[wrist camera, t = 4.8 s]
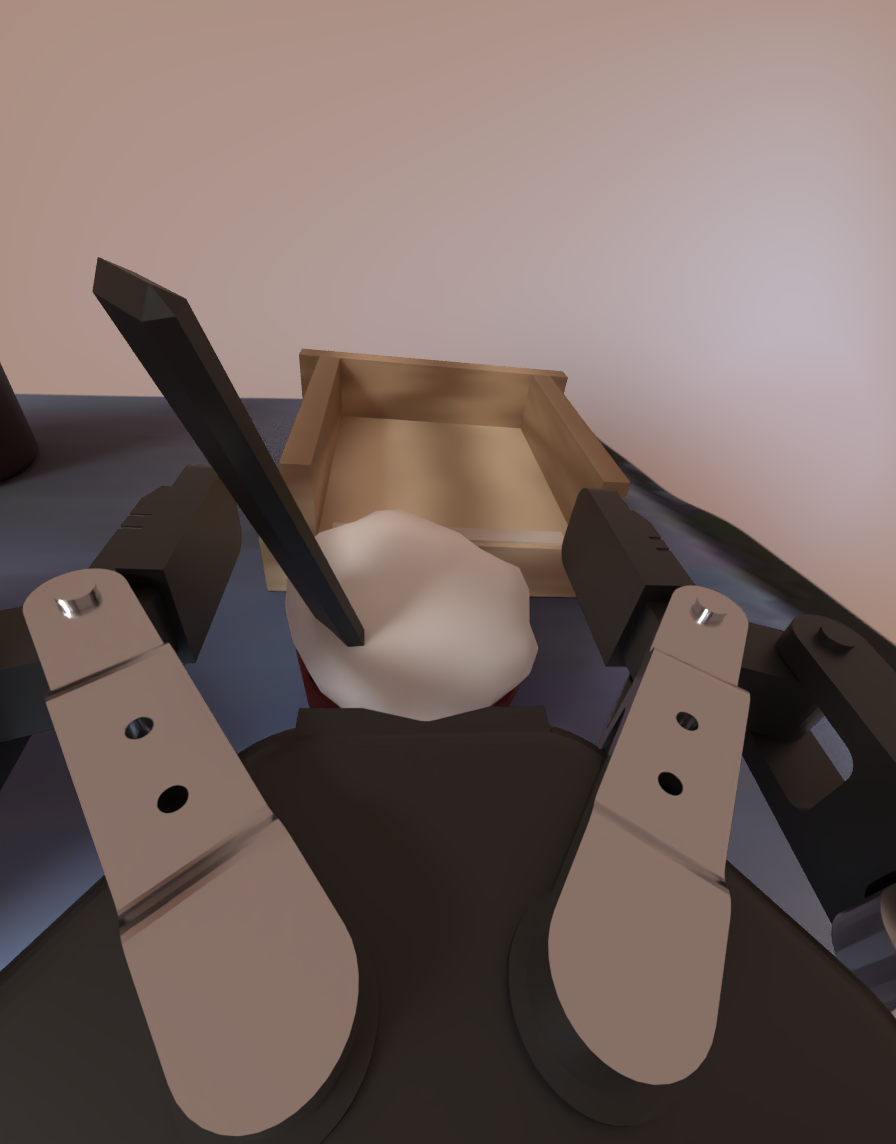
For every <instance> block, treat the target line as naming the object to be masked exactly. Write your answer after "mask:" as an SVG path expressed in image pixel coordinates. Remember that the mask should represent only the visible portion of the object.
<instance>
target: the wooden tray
mask: <svg viewBox="0 0 896 1144" xmlns="http://www.w3.org/2000/svg"><path fill="white" fill-rule="evenodd" d="M299 359H300V370H301V384H302V396H303V401H302V404H301V406H300V409H299V411H298V414H297V417H296V419H295V422H294V424H293V427H292V430H291V432H290V435H289V437H288V440H287V443H286V445H285V448H284V450H283V453H282V456H281V458H280V461H279V471H280V474H281V476H282V478H283V479H284V481H285V483H286V485H287V487H288V489H289V491H290V492H291V494H292V496H293V498H294V500H295V502H296V504H297V505H298V507H299V509H300V511H301V513H302V515H303V517H304V518H305V520H306V522H307V524H308V526H309V528H310V530H311V531H312V533H313V535H314V537H315V536H316V535H317V534H318V533H320V532H323V531H326V530H330V529H333V528H336V527H339V526H342V525H345V524H349V523H352V522H355V521H358V520H359V519H361V518H363V517H365V516H367V515H369V514H371V513H373V512H375V511H384V510H398V509H401V510H404V511H406V512H409V513H411V514H414V515H416V516H418V517H421V518H423V519H426V520H428V521H431V522H433V523H436V524H438V525H441V526H443V527H446V528H448V529H451V530H453V531H456V532H458V533H460V534H462V535H463V536H464V537H466V538H467V539H468V540H469V541H471V542H472V543H473V544H475V545H476V546H477V547H479V548H480V549H482V550H484V551H486V552H488V553H489V554H491V555H493V556H495V557H497V558H499V559H501V560H503V561H505V562H508V563H510V564H512V565H514V566H517V567H519V568H520V571H521V573H522V575H523V577H524V580H525V582H526V584H527V586H528V588H529V596H537V597H576V595H575V592H574V590H573V588H572V585H571V583H570V581H569V578H568V576H567V574H566V571H565V569H564V566H563V563H562V556H561V551H562V543H563V539H564V536H565V533H566V530H567V527H568V523H569V520H570V517H571V514H572V511H573V508H574V505H575V502H576V498H577V496H578V494H579V492H580V490H581V489H583V488H599V489H614V490H616V491H617V492H618V493H619V495H620V496H621V498H622V499H623V501H624V499H625V497H626V494H627V492H628V489H629V486H630V484H631V483H630V481H629V480H628V479H627V477H626V476H625V475H624V473H623V472H622V471H621V469H620V468H619V467H618V465H617V464H616V463H615V461H614V460H613V459H612V458H611V456H610V455H609V454H608V452H607V451H606V450H605V448H604V447H603V446H602V444H601V443H600V442H599V440H598V439H597V438H596V436H595V435H594V434H593V432H592V431H591V430H590V428H589V427H588V426H587V424H586V423H585V422H584V420H583V419H582V418H581V417H580V415H579V414H578V413H577V411H576V410H575V409H574V407H573V406H572V405H571V403H570V402H569V401H568V399H567V398H566V397H565V395H564V390H565V386H566V383H567V379H568V378H567V376H566V375H565V374H564V373H563V372H561V371H550V370H539V369H527V368H516V367H505V366H492V365H482V364H470V363H459V362H447V361H436V360H425V359H413V358H402V357H391V356H379V355H368V354H356V353H345V352H334V351H322V350H311V349H302V350H301V352H300V354H299ZM259 542H260V548H261V554H262V560H263V566H264V572H265V578H266V584H267V590H268V591H286V587H287V578H288V577H287V576H286V574H285V573H284V571H283V570H282V568H281V567H280V565H279V564H278V563H277V561H276V560H275V558H274V557H273V555H272V554H271V552H270V551H269V549H268V548H267V546H266V545H265V544H264V542H263V541H262V539H261V538H260V537H259Z"/></svg>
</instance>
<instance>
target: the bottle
mask: <svg viewBox="0 0 896 1144" xmlns="http://www.w3.org/2000/svg"><path fill="white" fill-rule="evenodd" d="M37 452H38V446H37V443H36V441H35V438H34V436H33V434H32V431H31V429H30V427H29V425H28V423H27V420H26V418H25V416H24V414H23V412H22V409H21V407H20V405H19V403H18V401H17V398H16V396H15V394H14V392H13V390H12V387H11V385H10V383H9V381H8V379H7V376H6V374H5V372H4V370H3V368H2V366H1V363H0V481H2V480H4V479H6V478H8V477H11V476H13V475H15V474H17V473H19V472H20V471H21V470H23V469H24V468H25V467H27V466H28V465H29V464H30V463H31V462H32V461H33V460H34V458H35V456H36V454H37Z"/></svg>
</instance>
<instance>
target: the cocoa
mask: <svg viewBox="0 0 896 1144" xmlns="http://www.w3.org/2000/svg"><path fill="white" fill-rule="evenodd" d="M93 293H94V294H95V296H96V297H97V299H98V300H99V302H100V303H101V305H102V306H103V308H104V309H105V311H106V312H107V314H108V315H109V316H110V318H111V319H112V321H113V322H114V324H115V325H116V327H117V328H118V330H119V331H120V333H121V334H122V335H123V337H124V338H125V340H126V341H127V343H128V344H129V346H130V347H131V349H132V350H133V352H134V353H135V354H136V356H137V357H138V359H139V360H140V362H141V363H142V365H143V366H144V368H145V369H146V371H147V372H148V374H149V375H150V377H151V378H152V379H153V381H154V382H155V384H156V385H157V387H158V388H159V390H160V391H161V393H162V394H163V395H164V397H165V398H166V400H167V401H168V403H169V404H170V406H171V407H172V409H173V410H174V412H175V413H176V415H177V416H178V418H179V419H180V420H181V422H182V423H183V425H184V426H185V428H186V429H187V431H188V432H189V434H190V435H191V437H192V438H193V440H194V441H195V442H196V444H197V445H198V447H199V448H200V450H201V451H202V453H203V454H204V456H205V457H206V459H207V460H208V461H209V463H210V464H211V466H212V467H213V469H214V470H215V472H216V473H217V475H218V476H219V478H220V479H221V481H222V482H223V483H224V485H225V486H226V488H227V489H228V491H229V492H230V494H231V495H232V497H233V498H234V500H235V501H236V502H237V504H238V505H239V507H240V508H241V510H242V511H243V513H244V514H245V516H246V517H247V519H248V520H249V522H250V523H251V524H252V526H253V527H254V529H255V530H256V532H257V533H258V535H259V536H260V538H261V539H262V541H263V542H264V544H265V545H266V546H267V548H268V549H269V551H270V552H271V554H272V555H273V557H274V558H275V560H276V561H277V563H278V564H279V565H280V567H281V568H282V570H283V571H284V573H285V574H286V576H287V577H288V578H287V587H286V598H285V610H286V614H287V619H288V624H289V628H290V633H291V637H292V641H293V643H294V645H295V647H296V651H297V656H298V661H299V665H300V670H301V674H302V678H303V682H304V686H305V691H306V695H307V699H308V703H309V706H310V708H365V709H370V710H374V711H379V712H383V713H388V714H392V715H397V716H401V717H406V718H410V719H415V720H420V721H433V720H437V719H441V718H445V717H449V716H453V715H457V714H461V713H465V712H469V711H473V710H477V709H481V708H485V707H508V706H509V705H510V703H511V701H512V699H513V697H514V695H515V693H516V692H517V690H518V688H519V685H520V683H521V681H523V680H524V679H525V678H526V677H527V676H528V675H529V674H530V672H531V669H532V666H533V663H534V660H535V657H536V654H537V652H538V649H539V648H538V645H537V643H536V640H535V637H534V634H533V631H532V629H531V626H530V623H529V588H528V586H527V584H526V582H525V580H524V577H523V575H522V573H521V571H520V568H519V567H517V566H514V565H512V564H510V563H508V562H505V561H503V560H501V559H499V558H497V557H495V556H493V555H491V554H489V553H488V552H486V551H484V550H482V549H480V548H479V547H477V546H476V545H475V544H473V543H472V542H471V541H469V540H468V539H467V538H466V537H464V536H463V535H462V534H460V533H458V532H456V531H453V530H451V529H448V528H446V527H443V526H441V525H438V524H436V523H433V522H431V521H428V520H426V519H423V518H421V517H418V516H416V515H414V514H411V513H409V512H406V511H404V510H401V509H398V510H384V511H375V512H373V513H371V514H369V515H367V516H365V517H363V518H361V519H359V520H358V521H355V522H352V523H349V524H345V525H342V526H339V527H336V528H333V529H330V530H326V531H323V532H320V533H318V534H317V535H316V536H315V537H314V535H313V533H312V531H311V530H310V528H309V526H308V524H307V522H306V520H305V518H304V517H303V515H302V513H301V511H300V509H299V507H298V505H297V504H296V502H295V500H294V498H293V496H292V494H291V492H290V491H289V489H288V487H287V485H286V483H285V481H284V479H283V478H282V476H281V474H280V472H279V470H278V468H277V467H276V465H275V463H274V461H273V459H272V457H271V455H270V454H269V452H268V450H267V448H266V446H265V444H264V442H263V441H262V439H261V437H260V435H259V433H258V431H257V429H256V428H255V426H254V424H253V422H252V420H251V418H250V416H249V415H248V413H247V411H246V409H245V407H244V405H243V403H242V402H241V400H240V398H239V396H238V394H237V392H236V390H235V389H234V387H233V385H232V383H231V381H230V379H229V378H228V376H227V374H226V372H225V370H224V368H223V366H222V365H221V363H220V361H219V359H218V357H217V355H216V353H215V352H214V350H213V348H212V346H211V344H210V342H209V340H208V339H207V337H206V335H205V333H204V331H203V329H202V328H201V326H200V324H199V322H198V320H197V318H196V316H195V315H194V313H193V311H192V309H191V307H190V305H189V303H188V302H187V300H186V299H185V298H183V297H181V296H179V295H177V294H176V293H174V292H171V291H170V290H167V289H166V288H164V287H162V286H160V285H158V284H156V283H154V282H152V281H150V280H148V279H146V278H144V277H142V276H140V275H139V274H137V273H135V272H132V271H130V270H128V269H125V268H123V267H121V266H118V265H116V264H113V263H111V262H108V261H106V260H104V259H102V258H99V257H98V259H97V266H96V272H95V279H94V285H93Z"/></svg>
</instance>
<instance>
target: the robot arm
mask: <svg viewBox="0 0 896 1144" xmlns="http://www.w3.org/2000/svg"><path fill="white" fill-rule="evenodd" d="M660 538H661V537H660V535H659V534H658V533H657V531H656V530H655V529H654V527H653V526H652V524H651V523H650V522H648V521H647V520H646V519H644V518H643V517H642V516H640V515H639V514H638V513H636V512H635V511H630V509H629V508H628V507H627V505H626V504H625V502H624V501H623V499H622V498H621V496H620V495H619V493H618V492H617V491H616V490H614V489H599V488H583V489H581V490H580V492H579V494H578V496H577V498H576V502H575V505H574V508H573V511H572V514H571V517H570V520H569V523H568V527H567V530H566V533H565V536H564V539H563V543H562V551H561V556H562V563H563V566H564V569H565V571H566V574H567V576H568V578H569V581H570V583H571V585H572V588H573V590H574V592H575V595H576V597H577V600H578V602H579V604H580V607H581V609H582V611H583V614H584V616H585V618H586V621H587V623H588V626H589V628H590V630H591V633H592V635H593V637H594V640H595V642H596V644H597V647H598V649H599V652H600V654H601V656H602V659H603V661H604V663H605V666H606V667H627V668H628V670H629V672H630V674H629V675H628V677H627V679H626V681H625V683H624V685H623V687H622V690H621V692H620V694H619V696H618V699H617V701H616V703H615V706H614V708H613V710H612V713H611V715H610V717H609V720H608V722H607V724H606V727H605V729H604V731H603V733H602V736H601V738H600V740H599V742H598V745H597V746H596V745H594V744H592V743H590V742H589V741H587V740H585V739H584V738H582V737H580V736H577V735H575V734H573V733H571V732H569V731H566V730H563V729H560V728H557V727H553V726H549V723H548V720H547V716H546V712H545V709H544V707H485V708H481V709H477V710H473V711H469V712H465V713H461V714H457V715H453V716H449V717H445V718H441V719H437V720H433V721H420V720H415V719H410V718H406V717H401V716H397V715H392V714H388V713H383V712H379V711H374V710H370V709H365V708H299V712H298V718H297V724H296V728H294V729H290V730H286V731H283V732H280V733H277V734H274V735H272V736H269V737H267V738H265V739H263V740H261V741H259V742H256V743H254V744H253V745H251V746H249V747H248V748H246V749H244V750H243V751H241V752H240V753H238V754H236V752H235V751H234V749H233V747H232V746H231V744H230V742H229V741H228V739H227V737H226V736H225V734H224V733H223V731H222V729H221V728H220V726H219V724H218V723H217V721H216V719H215V718H214V716H213V714H212V713H211V711H210V709H209V708H208V706H207V704H206V703H205V701H204V699H203V698H202V696H201V694H200V693H199V691H198V689H197V688H196V686H195V684H194V683H193V681H192V679H191V678H190V676H189V674H188V673H187V671H186V669H185V668H184V666H183V664H182V663H195V662H196V660H197V657H198V655H199V652H200V650H201V647H202V645H203V642H204V640H205V637H206V635H207V632H208V630H209V627H210V625H211V622H212V620H213V617H214V615H215V612H216V610H217V608H218V605H219V603H220V600H221V598H222V595H223V593H224V590H225V588H226V585H227V583H228V580H229V578H230V575H231V573H232V570H233V568H234V565H235V563H236V560H237V558H238V555H239V552H240V547H241V526H240V521H239V516H238V511H237V505H236V501H235V500H234V498H233V497H232V495H231V494H230V492H229V491H228V489H227V488H226V486H225V485H224V483H223V482H222V481H221V479H220V478H219V476H218V475H217V473H216V472H215V470H214V469H213V467H212V466H206V465H187V466H186V467H185V468H184V470H183V471H182V473H181V474H180V476H179V477H178V478H177V480H176V481H175V483H174V484H173V486H172V487H170V486H161V487H160V488H158V489H156V490H155V491H153V492H151V493H150V494H148V495H146V496H145V497H143V498H142V499H141V500H140V501H139V503H138V504H137V505H136V506H135V508H134V509H133V510H132V512H131V513H130V516H128V517H127V518H126V520H125V521H124V522H123V524H122V525H121V529H118V530H117V531H116V533H115V534H114V535H113V537H112V538H111V539H110V541H109V542H108V543H107V545H106V546H105V547H104V549H103V550H102V551H101V552H100V554H99V555H98V556H97V558H96V559H95V560H94V562H93V563H92V564H91V566H90V567H89V568H88V569H83V570H77V571H73V572H69V573H66V574H63V575H60V576H57V577H55V578H53V579H51V580H49V581H47V582H45V583H43V584H42V585H40V586H39V587H38V588H36V589H35V590H34V591H33V592H32V593H31V594H30V595H29V596H28V598H27V599H26V601H25V603H24V605H23V607H18V608H13V609H7V610H1V611H0V790H1V788H2V787H3V785H4V783H5V781H6V779H7V778H8V776H9V774H10V772H11V771H12V769H13V767H14V765H15V763H16V762H17V760H18V758H19V756H20V755H21V753H22V751H23V749H24V747H25V746H26V744H27V742H28V740H29V739H30V737H31V735H32V734H35V733H39V732H43V731H47V730H51V729H55V731H56V734H57V737H58V740H59V743H60V746H61V748H62V751H63V754H64V757H65V760H66V763H67V766H68V769H69V772H70V775H71V778H72V780H73V783H74V786H75V789H76V792H77V795H78V798H79V801H80V804H81V807H82V810H83V813H84V815H85V818H86V821H87V824H88V827H89V830H90V833H91V836H92V839H93V842H94V845H95V847H96V850H97V853H98V856H99V859H100V862H101V865H102V868H103V871H104V874H105V875H104V876H103V877H102V878H101V879H99V880H98V881H97V882H96V883H95V884H94V885H93V886H92V887H91V888H90V889H89V890H88V891H87V892H85V893H84V894H83V895H82V896H81V897H80V898H79V899H78V900H77V901H76V902H75V903H74V904H73V905H71V906H70V907H69V908H68V909H67V910H66V911H65V912H64V913H63V914H62V915H61V916H60V917H59V918H57V919H56V920H55V921H54V922H53V923H52V924H51V925H50V926H49V927H48V928H47V929H46V930H45V931H43V932H42V933H41V934H40V935H39V936H38V937H37V938H36V939H35V940H34V941H33V942H32V943H31V944H29V945H28V946H27V947H26V948H25V949H24V950H23V951H22V952H21V953H20V954H19V955H18V956H17V957H15V958H14V959H13V960H12V961H11V962H10V963H9V964H8V965H7V966H6V967H5V968H4V969H3V970H1V971H0V1144H896V672H895V671H894V670H893V669H892V668H891V667H890V666H889V665H888V664H887V663H886V661H885V660H884V659H883V658H882V657H881V656H880V655H879V654H878V653H877V652H876V651H875V650H874V648H873V647H872V646H871V645H870V644H869V643H868V642H867V641H866V640H865V639H864V638H863V637H862V636H860V635H859V634H858V633H856V632H855V631H854V630H852V629H850V628H849V627H847V626H845V625H844V624H842V623H839V622H837V621H835V620H833V619H830V618H827V617H824V616H820V615H814V614H803V615H799V616H797V617H796V618H794V620H793V621H792V622H791V623H790V625H789V626H788V627H787V628H786V630H785V631H781V630H777V629H773V628H769V627H765V626H761V625H757V624H753V623H749V622H748V619H747V617H746V615H745V613H744V612H743V610H742V609H741V608H740V607H739V606H738V605H737V604H736V603H735V602H734V601H732V600H731V599H729V598H728V597H726V596H724V595H723V594H721V593H719V592H717V591H714V590H711V589H709V588H705V587H700V586H695V584H694V583H693V581H692V580H691V579H690V577H689V576H688V574H687V573H686V572H685V570H684V569H683V567H682V566H681V565H680V563H679V562H678V561H677V559H676V558H675V556H674V555H673V554H672V552H671V551H669V548H668V547H667V545H666V544H665V542H664V541H663V540H660ZM824 716H825V717H826V718H827V719H828V721H829V722H830V724H831V725H832V726H833V728H834V729H835V731H836V732H837V733H838V735H839V736H840V737H841V739H842V740H843V742H844V743H845V744H846V746H847V747H848V749H849V751H850V753H851V756H852V759H853V771H852V774H851V776H850V778H849V779H848V780H846V781H844V780H843V778H842V777H841V775H840V774H839V773H838V771H837V770H836V768H835V767H834V765H833V764H832V762H831V761H830V759H829V758H828V756H827V755H826V753H825V752H824V750H823V749H822V747H821V746H820V744H819V743H818V741H817V740H816V738H815V737H814V736H813V734H812V733H811V731H810V729H811V728H812V727H813V726H814V725H815V724H816V723H817V722H818V721H819V720H821V719H822V718H823V717H824ZM742 756H743V758H744V759H745V761H746V763H747V765H748V767H749V769H750V771H751V773H752V775H753V776H754V778H755V780H756V782H757V784H758V786H759V788H760V790H761V792H762V793H763V795H764V797H765V799H766V801H767V803H768V805H769V807H770V808H771V810H772V812H773V814H774V816H775V818H776V820H777V822H778V824H779V825H780V827H781V829H782V831H783V833H784V835H785V837H786V839H787V841H788V842H789V844H790V846H791V848H792V850H793V852H794V854H795V856H796V857H797V859H798V861H799V863H800V865H801V867H802V869H803V871H804V873H805V874H806V876H807V878H808V880H809V882H810V884H811V886H812V888H813V890H814V891H815V893H816V895H817V897H818V899H819V901H820V903H821V905H822V907H823V908H824V910H825V912H826V914H827V916H828V918H829V920H830V922H831V923H832V931H831V935H832V943H833V947H834V950H835V954H836V957H835V956H834V955H833V954H832V953H830V952H829V951H828V950H827V949H826V948H825V947H824V946H823V945H822V944H820V943H819V942H818V941H817V940H816V939H815V938H814V937H813V936H811V935H810V934H809V933H808V932H807V931H806V930H805V929H804V928H802V927H801V926H800V925H799V924H798V923H797V922H796V921H795V920H793V919H792V918H791V917H790V916H789V915H788V914H787V913H786V912H785V911H783V910H782V909H781V908H780V907H779V906H778V905H777V904H776V903H774V902H773V901H772V900H771V899H770V898H769V897H768V896H767V895H765V894H764V893H763V892H762V891H761V890H760V889H759V888H758V887H756V886H755V885H754V884H753V883H752V882H751V881H750V880H749V879H748V878H746V877H745V876H744V875H743V874H742V873H741V872H740V871H739V870H737V869H736V868H735V867H734V866H733V865H732V864H731V863H730V862H728V861H727V860H726V857H727V850H728V843H729V837H730V830H731V824H732V817H733V810H734V804H735V797H736V790H737V784H738V777H739V771H740V764H741V757H742Z"/></svg>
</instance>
